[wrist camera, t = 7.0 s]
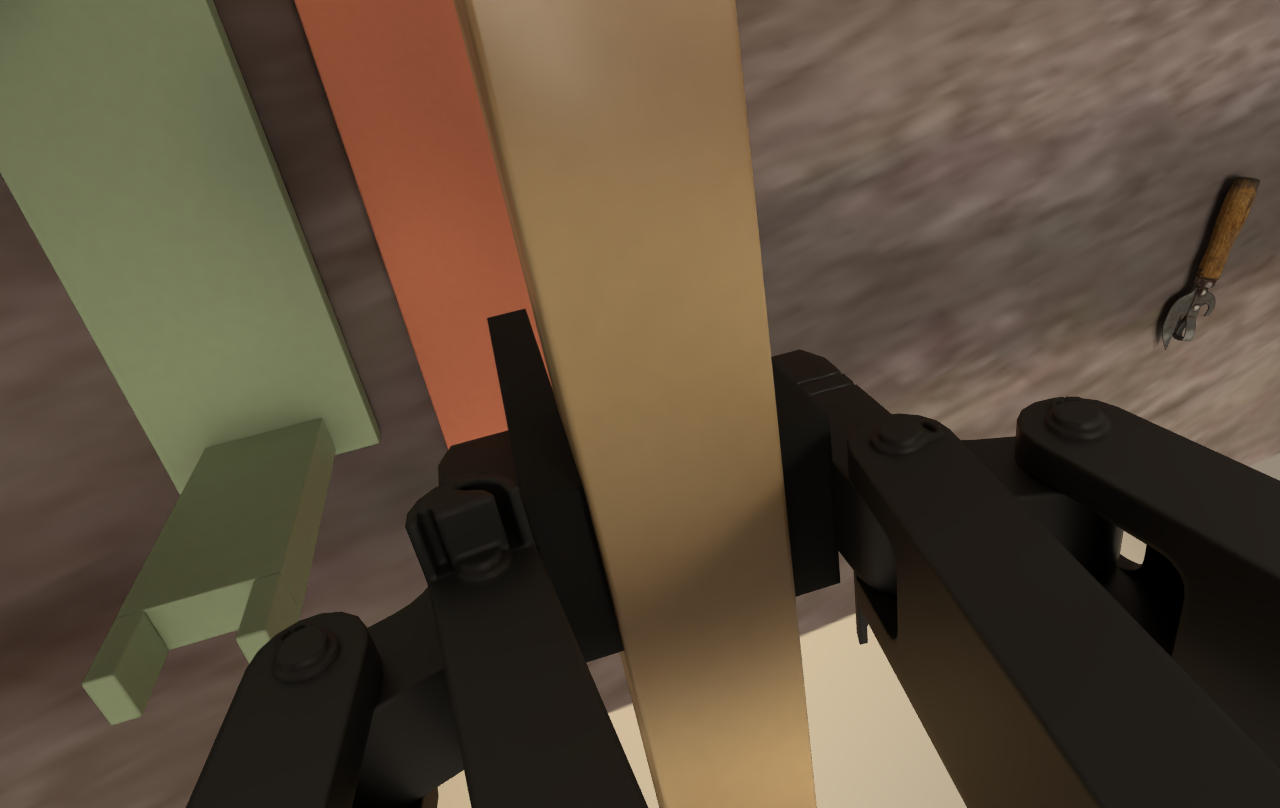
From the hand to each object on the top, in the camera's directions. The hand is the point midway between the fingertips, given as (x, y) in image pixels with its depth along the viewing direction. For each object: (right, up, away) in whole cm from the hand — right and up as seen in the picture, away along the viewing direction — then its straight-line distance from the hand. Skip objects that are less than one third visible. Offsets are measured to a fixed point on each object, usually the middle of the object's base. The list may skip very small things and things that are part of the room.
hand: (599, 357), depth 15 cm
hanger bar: (+1, -2, -4) cm, 4 cm away
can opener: (+29, +6, +24) cm, 39 cm away
